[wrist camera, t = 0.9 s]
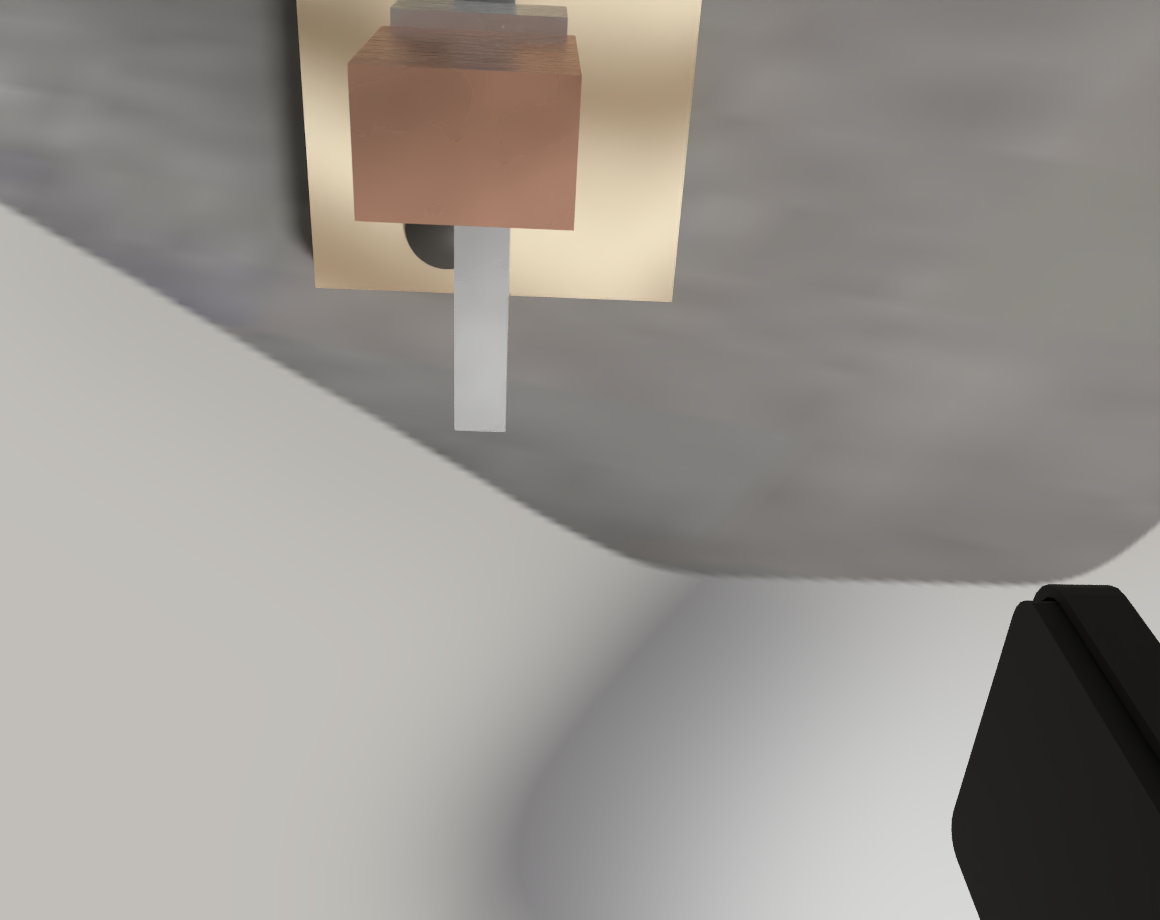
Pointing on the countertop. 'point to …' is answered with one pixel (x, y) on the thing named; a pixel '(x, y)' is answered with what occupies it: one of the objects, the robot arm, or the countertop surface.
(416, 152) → the slider block
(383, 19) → the hole plate
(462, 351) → the divider frame
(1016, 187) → the countertop surface
